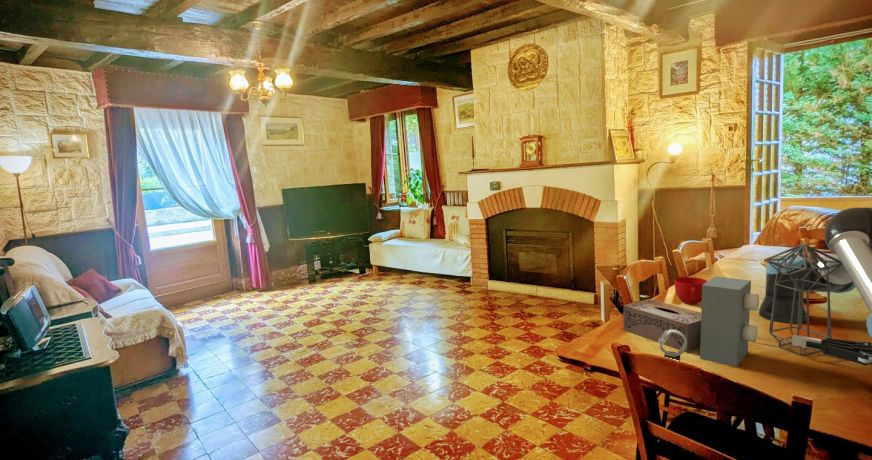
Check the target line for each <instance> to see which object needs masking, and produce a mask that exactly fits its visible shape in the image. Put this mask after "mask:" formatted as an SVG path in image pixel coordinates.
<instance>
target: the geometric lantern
mask: <svg viewBox="0 0 872 460" xmlns="http://www.w3.org/2000/svg"><path fill="white" fill-rule="evenodd" d="M781 255H783V256H781ZM821 255H822V256H823V257H824V256H826V257H828V258H830V259H832V260H834V261H828V260H824V259H823V257H822V256H821ZM829 255H830V254H827V253H825V252H823V251H820V249H817V248H815V247H813V246H810V245H808V244H804V243H800V244H798V245H796V246H794V247H791V248H789V249H786V250H784V251H781V252H779V253H776V254H774V255H772V256H769V257H767V258H764V259H763V260H764V262H766V263H769V264H770V265H771V266H772V267H773V268H775V269H776V270H777V274H776V280H775V284H774V285H775V288H774V299H773V306H772V313H771V320H770V319H769V320H770V322H769V328H768V333H769V334H770V335H771V337H773V338H774V339H775V340H776V341H777V342H778V345H777V347H778V348H780V349H783V350H785V351H789V352H790V353H791V352H792V353H795V354H797V355H800V356H807V355H811V354H815V353H819V352H820V350H814V351H811V352H807V350H810V348H806V347H803V348H802V347H800V346H795V345H792V340H790V339H792V336H793V335H794V333H793V329H797V332H796V335H799V336H800V331H801V330H802V331H806V334H807V335H806V337H810V333H811V334H814V335H818V336H821V337H823V339H826V338H832V337H833V336H832V318H831V317H832V316H831V292H830V287H831V286H830V283H829V278H828V275H830V274H831V273H832V272H834V271H835V270H836V269H838V268H839V267H840V266H842V265H843V264H842V262H841V261H839V260H837V259H835V258H833V257H831V256H829ZM787 256H788V257H787ZM798 256H799V257H802V258H803V259H804V266H805V268H802V267H791V264H792V263H793V261H794V260H795V258H796V257H798ZM777 257H781V258H779V259H773V258H777ZM784 257H787V258H784ZM791 257H792V258H791ZM783 258H784V259H783ZM790 258H791V260H790V261H789V263H788V264H787V266H786V261H787V260H788V259H790ZM808 259H809V260H808ZM780 260H783V261H782V262H781V263H779V261H780ZM774 261H778V262H774ZM806 261H807V262H808V263H809V264H810V265H811V267H812V269H808V268H807V264H806ZM811 261H814V262H815V264H816V265H815V266H814V265H813V264H812V263H811ZM818 261H820V262H821V263H822V264H823V265H824V267H822V268H820V266H819V265H818ZM784 262H785V265H782V264H783V263H784ZM827 262H831V263H836V264H834V265H832V266H830V267H828V266H827V265H826V264H827ZM773 264H774V265H776V266H777V267H778V269H777V268H776V267H775V266H774V265H773ZM777 264H778V265H777ZM779 265H780V266H779ZM836 266H837V267H836ZM833 267H836V268H834V269H833V270H832V271H830V272H829V269H830V268H833ZM780 268H786V271H787V273H782V272H781V271H780ZM788 268H789V269H790V270H791V268H794V269H801V270H798V271H795V272H793V271H792V270H791V271H792V273H788ZM806 269H808V270H810V271H809V272H808V273H807V274H806V275H805V276H804V278H803V279H799V278H798V277H797V276H796V275H795V273H798V272H800V271H803V270H806ZM815 269H818V270H819V271H820V275H819V274H818V273H817V272H816V271H815ZM821 270H822V271H824V272H825V275H823V276H821ZM825 270H827V274H826V271H825ZM811 271H813V272H814V273H815V274H816V275H817V276H818V277H819V278H818V279H817V281H818V280H819V279H820V278H822V277H826V278H827V285H825V284H820V283H816V282H817V281H816V282H812V281H807V280H804V279H805V278H806V277H807V276H808V275H809V274H810V273H811ZM778 273H779V274H782V276H783V275H789V276H790V278H791V279H790V280H785V281H780V280H781V278H782V276H781V277H780V279H779V281H778V282H777V279H778ZM792 274H794V275H795V276H796V278H797V279H796V280H795V279H793V278H792V276H791V275H792ZM791 280H792V281H793V282H794V284H795V289H794V288H790V287H786V286H782V285H779V283H780V282H786V281H791ZM797 281H802V290H801V289H800V288H799V286H798V285H797ZM804 281H806V282H811V283H814V284H813V285H812V286H811V287H810V289H811V288H812V287H813V286H814V285H815V284H820V285H824V286H827V288H821V289H815V290H810V289H809V290H808V291H805V290H804ZM777 286H782V287H786V288H789V289H793V290H794V297H793V306H792V315H791V323H789V324H790V325H789V326H787V327H782V328H781V327H780V328H778V329H774V322H775V321H774V311H775V300H776V293H777ZM797 288H798V289H797ZM822 289H827V292H826V293H827V314H826V315H827V321H826V322H827V323H826V324H827V325H826V327H827V329H826V333H827V334H826V335H825V334H822V333H818V332H816V331H813V330H810V301H809V300H810V292H811V291H816V290H822ZM796 290H797V291H799V308H798V323H797V326H793V324H794V323H793V315H794V306H795V297H796ZM801 292H802V293H801ZM804 293H806V312H807V321H806V328H804V327H803V322H802V314H803V303H804ZM811 293H812V292H811ZM800 312H801V314H800ZM787 329H789V330H790V334H791V336H789V337H785V338H784V337H782V336H779V335H777V334H774V332H779V331H783V330H787ZM832 339H833V338H832ZM783 341H786V342H783ZM783 346H789V347H792V348H795V349H798V350H799V352H797V351H794V350H791V349H789V348H785V347H783ZM802 351H804V352H803V353H802Z"/></svg>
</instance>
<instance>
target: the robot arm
mask: <svg viewBox="0 0 872 460" xmlns="http://www.w3.org/2000/svg"><path fill="white" fill-rule="evenodd" d="M824 228H825V229H824V233H823V238H824V242H825V244H826V247H827V248H828V250H829V251H830V252H831V253H832V254H828V255H829V256H831V257H833V258H835V259H837V260H839V261H841V262H842V264H843V265H842V266H840V267H839V268H838V269H836V270H835V271H834V272H832V273H831V274H830V275H828V278H829V283H830V286H831V287H830V293H835V294H842V293H850V292H851V291H853V290H854V289H855V288H856V290H857V292H858V293H859V295H860V297H861V298H862V300H863V302H864V304H865V305H866V307H867V309H868V310H869V312H870V314H869V315H868V316H867V319H866V324H865V325H866V328H867V334H868V335H869V337H870V338H871V339H872V207H869V206H868V207H866V206H865V207H857V206H856V207H849V208H846V209H843V210H840V211H839V212H837V213H835V214H834V215H833V216H832V217H831V218H830V219H829V220H828V222H827V223H826V225H825V227H824ZM788 256H789V255H788ZM788 256H786V257H784V258H787V257H788ZM781 257H782V256H777V257H774V258H772V259H779V258H781ZM784 258H783V259H784ZM791 258H792V257H791ZM791 258H790V259H788V260H787V261H786V266H787V264H788V263H789V261H790V260H791ZM822 258H823V259H824V260H828V261H834V260H832V259H830V258H828V257H826V256H824V255H823V257H822ZM782 261H783V260H780V261H779V263H781V262H782ZM774 262H778V261H774ZM766 263H767V264H766V270H765V273H766V274H765V275H766V276H765V277H766V279H765V295H764V298H763V300H762V302H761V304H760V306H759V307H758V315H759V316H760V317H762V318H764V319H766V320H771V313H772V306H773V299H774V288H775V285H774V284H775V280H776V274H777V270H776V269H775V268H773V267H772V266H771V265H770V264H769V263H768V262H766ZM811 263H812V264H813V265H814V266H815V265H816V264H815V262H814V260H811ZM806 264H807V268H808V269H812V267H811V265H810V264H809V263H808V262H807V261H806ZM834 264H836V263H831V262H827V264H826V265H827V266H828V267H830V266H832V265H834ZM773 265H774V264H773ZM777 265H778V264H777ZM782 265H785V262H784V263H783V264H782ZM818 265H819V266H820V268H822V267H824V265H823V264H822V263H821V262H820V261H819V260H818ZM774 266H775V267H776V268H777V269H778V267H777V266H776V265H774ZM779 266H780V265H779ZM791 267H802V268H805V266H804V259H803V258H802V257H801V256H797V257H796V258H795V260H794V261H793V263H792V264H791ZM836 267H837V266H836ZM836 267H833V268H830V269H829V272H830V271H832V270H833V269H834V268H836ZM808 269H806V270H803V271H800V272H798V273H795V275H796V276H797V277H798V278H799V279H803V278H804V276H805V275H806V274H807V273H808V272H809V271H810V270H808ZM791 270H792V271H793V272H795V271H798V270H801V269H794V268H791ZM791 270H790V269H789V268H788V273H792V271H791ZM780 271H781V272H782V273H787V271H786V268H780ZM815 271H816V272H817V273H818V274H819V275H820V271H819V270H818V269H815ZM825 271H826V274H827V270H825ZM795 275H794V274H792V275H791V276H792V278H793V279H795V280H796V279H797V278H796V276H795ZM823 275H825V272H824V271H822V270H821V276H823ZM781 276H782V274H779V273H778V279H777V282H778V281H779V279H780V277H781ZM818 278H819V277H818V276H817V275H816V274H815V273H814V272H813V271H811V273H810V274H809V275H808V276H807V277H806V278H805V279H804V280H807V281H812V282H816V281H817V279H818ZM790 279H791V278H790V276H789V275H783V276H782V278H781V280H780V281H785V280H790ZM816 283H820V284H825V285H827V278H826V277H822V278H820V279H819V280H818V281H817V282H816ZM813 284H814V283H811V282H806V281H804V290H805V291H808V290H809V289H810V287H811V286H812V285H813ZM820 284H815V285H814V286H813V287H812V288H811V289H810V290H815V289H821V288H827V286H824V285H820ZM779 285H782V286H786V287H790V288H794V289H795V284H794V282H793V281H792V280H791V281H786V282H780V283H779ZM797 285H798V286H799V288H800V289H801V290H802V281H797ZM782 286H777V293H776V300H775V311H774V322H780V323H789V324H790V323H791V315H792V306H793V297H794V290H793V289H789V288H786V287H782ZM797 289H798V288H797ZM814 292H815V293H827V289H822V290H816V291H811V293H814ZM801 293H802V292H801ZM798 308H799V291H797V290H796V297H795V306H794V315H793V323H792V324H798ZM800 314H801V312H800ZM805 322H807V308H806V306H805V302H803V314H802V323H805ZM791 337H792V338H791V341H792V343H791V345H792V346H795V347H798V346H800V347H801V348H805V347H806V348H809V349H812V350H815V349H816V350H815V351H817V350H819V351H820V352H822V355H826V356H831V357H834V358H837V359H841V360H844V361H845V360H846V361H849V362H854V363H857V364H860V365H863V366H865V367H866V366H869V364H871V365H872V342H870V341H858V340H857V341H856V340H849V339H848V340H847V339H838V338H826V337H825V338H826V339H824V338H823V339H820V338H814V337H810V336H809V337H807V336H803V335H800V334H799V335H797V334H793V336H792V335H791Z"/></svg>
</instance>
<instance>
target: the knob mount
mask: <svg viewBox="0 0 872 460" xmlns="http://www.w3.org/2000/svg"><path fill="white" fill-rule="evenodd" d="M707 281H708V282H706V283H705V284H703V285H702V301H701V310H700V312H701V342H700V349H699V359H701V360H704V361H705V360H706V361H710V362H715V363H718V364H723V365H727V366H731V367H734V368H735V367H738V366H739V364H740V363H741V361H742V360H743V359H744V358H745V357H746V355H747V354H748V352H749V341H745V340H743V339H742V328H743V327H744V325H745V324H747V325H750V311H751V310H748V309H744V305H743V299H744V296H745V294H746V293H751V288H752V287H751V285H752V284H751V283H752V280H751V279H750V280H749V279H741V278H733V277H725V276H716V275H715V276H713V277H712V278H710V279H709V280H707Z"/></svg>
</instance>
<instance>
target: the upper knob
mask: <svg viewBox="0 0 872 460" xmlns="http://www.w3.org/2000/svg"><path fill="white" fill-rule="evenodd" d="M743 305H744V309H748V310H750V311H755V312H756V311H758V310H759V307H760V306H759V305H760V295H759V294H757V293H752V292H750V293H746V294H745V296H744V299H743Z"/></svg>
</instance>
